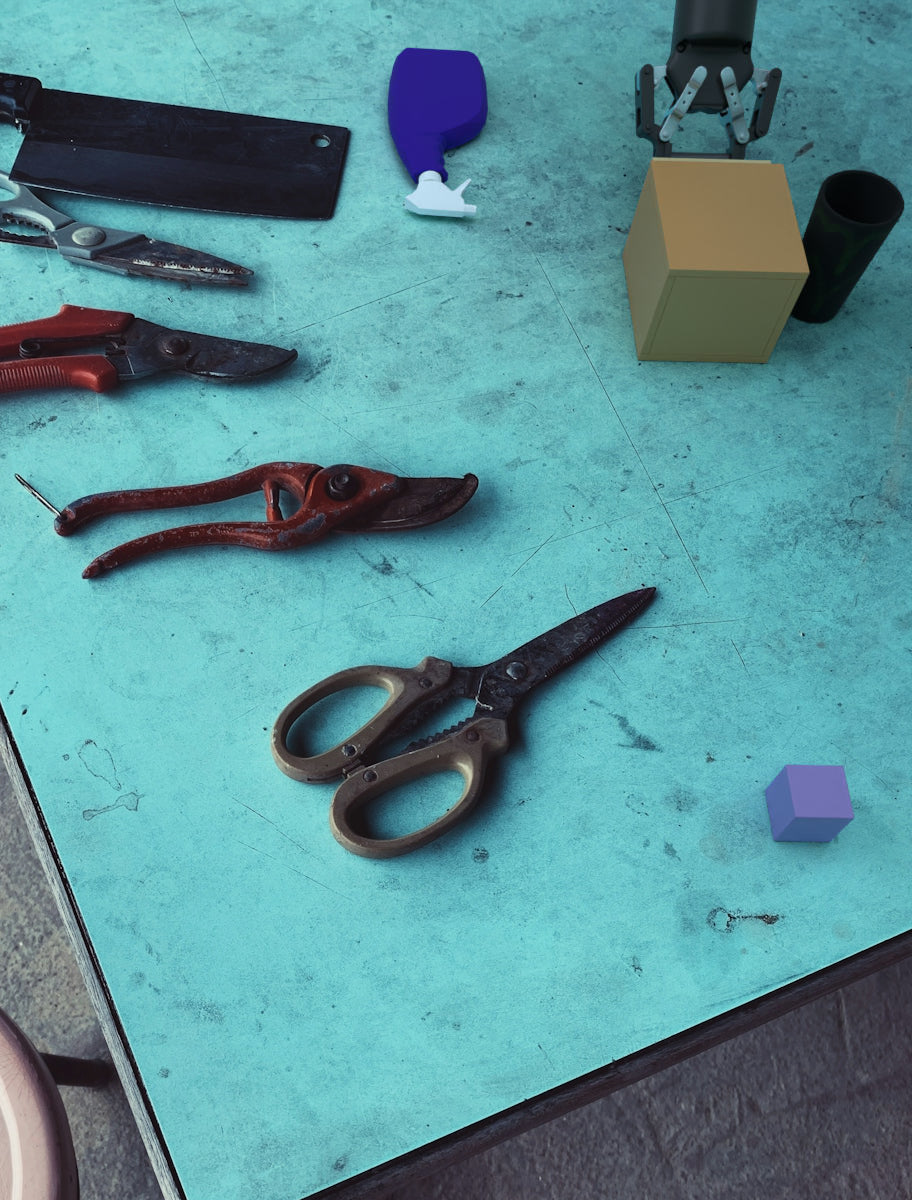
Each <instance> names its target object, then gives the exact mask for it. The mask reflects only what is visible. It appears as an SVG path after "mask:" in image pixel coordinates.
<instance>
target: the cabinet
mask: <svg viewBox="0 0 912 1200" xmlns="http://www.w3.org/2000/svg"><path fill="white" fill-rule="evenodd" d="M638 198H639V199H638V201H637V205H636V208H635V212H634V215H633V218H632V221H631V225H630V229H629V232H628V234H627V238H626V240H625V241H626V242H625V244H624V248H623V251H622V254H621V255H622V264H623V269H624V275H625V282H626V289H627V297H628V302H629V303H628V304H629V309H630V315H631V323H632V330H633V336H634V343H635V350H636V355H637V357H636V358H637V361H657V362H659V361H660V362H695V363H697V362H698V363H699V362H700V363H703V362H704V363H739V364H741V363H744V364H747V363H748V364H768V362H769V360H770V357H771V355H772V353H773V351H774V349H775V347H776V345H777V342H778V340H779V338H780V336H781V334H782V332H783V330H784V327H785V326H786V323H787V322H788V319H789V318H790V316H791V314H790V313H791V311H792V309H793V307H794V305H795V303H796V301H797V298H798V296H799V294H800V292H801V290H802V288H803V286H804V284H805V282H806V279H807V277H808V275H809V273H810V272H809V268H808V263H807V259H806V255H805V251H804V247H803V243H802V239H803V238H802V235H801V231H800V227H799V222H798V219H797V215H796V211H795V207H794V203H793V198H792V194H791V190H790V187H789V183H788V178H787V174H786V170H785V166H784V164H783V163H771V164H769V163H732V162H694V161H657V160H652V159H651V160H650V162H649V165H648V168H647V172H646V174H645V178H644V182H643V185H642V188H641V192H640V195H639V197H638Z"/></svg>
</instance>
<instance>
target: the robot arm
mask: <svg viewBox="0 0 912 1200" xmlns="http://www.w3.org/2000/svg"><path fill="white" fill-rule="evenodd" d="M758 1H759V0H675V6H674V14H673V24H672V33H671V42H670V53H669V56H668V59H667V61H666V63H665V64H662V65H655V66H653V65H652V64H651V63H646V64H644V65H643V66H642V67H641V68H640V69H638V70H637V71H636V73H635V75H634V106H635V108H634V110H635V111H634V113H635V114H634V115H635V135H636V137H637V138H639V139H644V140H646V141H648V142H650V143H651V145H652V156H651V159H652V158H653V157H657V158H671V154H672V152H673V146H674V145H673V144H674V142H671V139H672V137H673V135H674V133H675V131H676V129H677V128H678V126H679V124H680V123H681V121H682V119H683V118H684V117H685V115H693V114H694V115H695V114H697V113H703V114H706V115H715V116H716V115H717V117H718V120H719V123H720V126H721V127H723V129H724V133H725V136H726V139H727V142H728V147H726V148H725V153H728V154H729V155H730V159H731V160H745V158H746V157H745V156H746V150H747V146H748V144H750V143H752V142H756V141H758V140H759V139H761V138H763V137H765V136H767V135H768V133H769V131H770V126H771V121H772V117H773V114H774V111H775V106H776V103H777V102H776V101H777V97H778V94H779V89H780V86H781V82H782V77H783V71H782V69H781V68H780V67H774V68H772V69H764V68H759V67H755V65H754V62H753V59H752V48H753V40H754V33H755V25H756V17H757V9H758ZM662 79H663V80H664V82H665V83H666V85H667V87H668V90H669V91H670V94H671V95H672V97H673V98H672V100H671V102H670V104H669V106H668V108H667V109H666V111H665V113H664V115H663V117H662V120H661V121H660V124H657V123H655V92H656V91H657V90H658V89H659V88H660V86H661V81H662ZM749 82H751V84H752V92H753V95H755V96H756V98H755V102H754V107H753V110H752V113H751V119H750V122H749V127H748V125H747V122H746V119H745V118H746V117H745V109H744V106H743V105H744V104H743V102H742V98H741V95H740V94H741V92H742V91H743V90H744V89H745V88H746V86H747V84H749Z"/></svg>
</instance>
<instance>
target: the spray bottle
mask: <svg viewBox="0 0 912 1200" xmlns="http://www.w3.org/2000/svg"><path fill="white" fill-rule="evenodd" d="M391 69H392V70H391V74H390V79H389V82H388V83H389V84H388V93H387V122H388V127H389V133H390V136H391V138H392V141H393V144H394V146H395V149H396V151H397V155H398V156H399V158H400V160H401V162H402V164H403V166H404V168H405V169H406V172H407V173H408V175H409V176H410V178H411V180H412V181H413V183H414V184H417V187H416V189H415V190H414V191H413V192H412V193H410V194H407V195H406V196H405V197H404V206H403V208H404V209H405V210H407V211H410V212H413V213H415V214H417V215H424V216H438V217H451V218H452V217H454V218H463V217H476V215H477V207H478V206H477V205H474V204H467V203H465V199H464V198H463V196H464V193H465V192H466V190H467V188H468V187H469V186H470V184H471V183H472V179H470V178H468V179H466V180H465V181H463V182H462V183H461V184H460V185H458V187H456V188H455V189H454V190H452V189H450V188H449V187H448V186H447V185H446V184H445V183H446V182H447V181H448V180H449V172H448V171H447V169H446V168H445V165H446V160H445V158H444V156H445V152H447V151H450V150H453V149H455V148H458V147H460V146H462V145H465V144H467V143H470V142H471V141H472V140H473V139H475V138H476V137H477V136H479V134H480V133H481V131H482V130H483V128H485V126H486V123H487V119H488V112H489V101H488V87H487V80H486V75H485V70H484V67H483V65H482V63H481V61H480V59H479V57H478V56H477V55H476V53H475V52H471V51H469V50H461V49H443V48H425V47H423V48H422V47H405V48H404V49H402V50H401V52H400V53H398V54H397V56H396V58H395V59H394V62H393V65H392V68H391Z"/></svg>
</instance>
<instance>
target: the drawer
mask: <svg viewBox="0 0 912 1200" xmlns="http://www.w3.org/2000/svg"><path fill="white" fill-rule="evenodd" d="M651 160H657V161H694V162H732V163H769V164H772V161H771V160H770V159H769V160H768V159H767V160H766V159H765V160H762V159H744V160H731V159H730V155H729V154H728V153H726V152H695V151H693V152H691V151H672V154H671V158H657V157H653V158H652V157H651Z"/></svg>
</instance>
